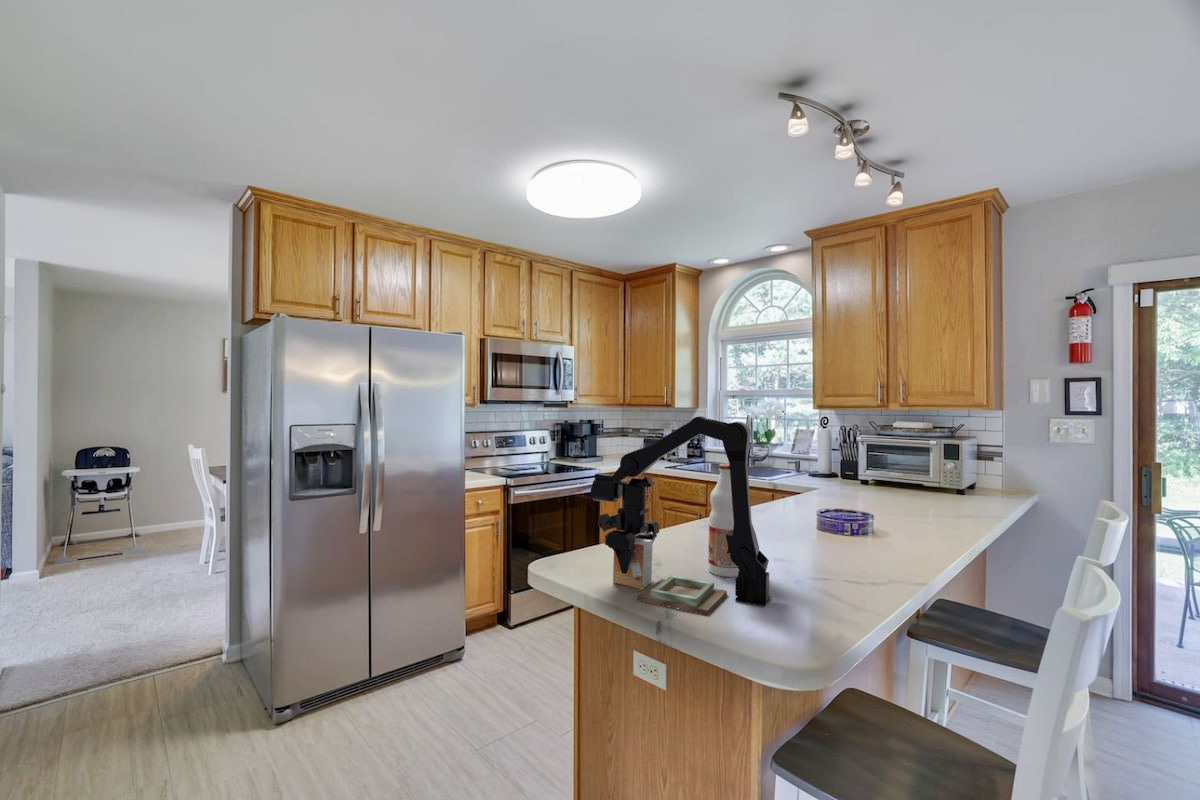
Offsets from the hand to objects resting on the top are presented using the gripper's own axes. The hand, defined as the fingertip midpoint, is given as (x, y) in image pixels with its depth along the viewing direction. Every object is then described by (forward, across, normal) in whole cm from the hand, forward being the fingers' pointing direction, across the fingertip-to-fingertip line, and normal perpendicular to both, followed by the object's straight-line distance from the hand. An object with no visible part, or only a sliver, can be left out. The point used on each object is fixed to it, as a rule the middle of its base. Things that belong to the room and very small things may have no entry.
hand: (632, 568), depth 134 cm
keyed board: (+4, +3, +14) cm, 15 cm away
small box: (+4, 0, 0) cm, 4 cm away
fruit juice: (+4, -21, +17) cm, 27 cm away
